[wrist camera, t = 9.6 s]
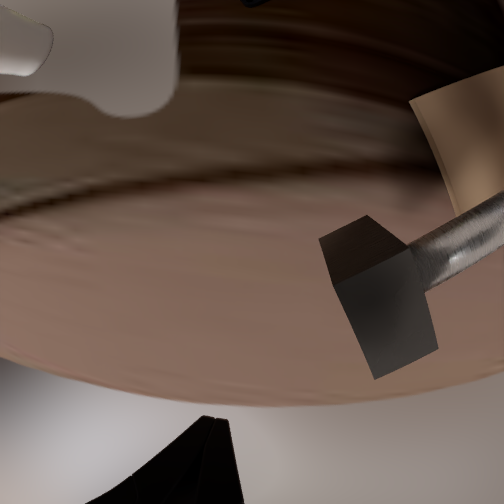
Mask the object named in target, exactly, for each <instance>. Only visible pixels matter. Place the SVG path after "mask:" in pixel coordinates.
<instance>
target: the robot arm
mask: <svg viewBox="0 0 504 504" xmlns="http://www.w3.org/2000/svg"><path fill="white" fill-rule="evenodd" d="M240 1H241V2H242V3H243V4H244V6H246V7H248V8H252V7H255V6H257V5H259V4H261V3H264V2H266V1H268V0H253V1H252V2H250V3H249V2H247V1H248V0H240ZM85 504H244V499H243V494H242V489H241V484H240V480H239V474H238V470H237V464H236V459H235V454H234V448H233V443H232V437H231V432H230V427H229V421H228V420H227V419H222V418H216V419H215V418H214V417H210V416H205V415H203V416H201V417H200V418H199V419H198V420H197V421H196V422H194V423H193V424H192V425H191V426H190V427H189V428H188V429H186V430H185V431H184V432H183V433H182V434H181V435H179V436H178V437H177V438H176V439H175V440H174V441H172V442H171V443H170V444H169V445H168V446H167V447H165V448H164V449H163V450H162V451H161V452H159V453H158V454H157V455H156V456H154V457H153V458H152V459H151V460H150V461H148V462H147V463H146V464H145V465H143V466H142V467H141V468H140V469H138V470H137V471H136V472H135V473H133V474H132V476H129V477H128V478H126V479H125V480H124V481H123V482H121V483H120V484H118V485H117V486H115V487H114V488H113V489H111V490H109V491H108V492H106V493H104V494H102V495H101V496H99V497H97V498H95V499H93V500H91V501H89V502H87V503H85Z"/></svg>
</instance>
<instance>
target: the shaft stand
mask: <svg viewBox="0 0 504 504" xmlns="http://www.w3.org/2000/svg"><path fill="white" fill-rule="evenodd" d="M409 103H410V105H411V107H412V109H413V111H414V113H415V115H416V117H417V119H418V121H419V123H420V125H421V127H422V129H423V131H424V134H425V136H426V138H427V140H428V142H429V145H430V147H431V149H432V152H433V154H434V156H435V159H436V161H437V164H438V166H439V169H440V171H441V174H442V177H443V179H444V182H445V185H446V187H447V190H448V193H449V196H450V199H451V202H452V205H453V208H454V211H455V214H456V217H458V216H460V215H461V214H463V213H465V212H467V211H468V210H470V209H472V208H473V207H475V206H477V205H479V204H480V203H482V202H484V201H485V200H487V199H489V198H490V197H492V196H494V195H495V194H497V193H499V192H500V191H502V190H503V189H504V66H501V67H498V68H495V69H492V70H489V71H486V72H483V73H480V74H478V75H475V76H472V77H469V78H466V79H464V80H461V81H458V82H455V83H453V84H450V85H448V86H445V87H442V88H440V89H437V90H435V91H432V92H430V93H427V94H425V95H422V96H420V97H417V98H415V99H413V100H411V101H409Z"/></svg>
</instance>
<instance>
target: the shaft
mask: <svg viewBox="0 0 504 504" xmlns="http://www.w3.org/2000/svg"><path fill="white" fill-rule="evenodd" d="M319 242H320V245H321V248H322V251H323V255H324V258H325V261H326V264H327V268H328V271H329V274H330V278H331V281H332V284H333V287H334V289H335V291H336V293H337V296H338V298H339V300H340V302H341V304H342V306H343V308H344V311H345V313H346V315H347V317H348V319H349V322H350V324H351V326H352V328H353V331H354V333H355V335H356V337H357V340H358V342H359V344H360V346H361V349H362V351H363V353H364V356H365V358H366V360H367V363H368V365H369V367H370V370H371V372H372V375H373V377H374V379H377V378H380V377H382V376H384V375H386V374H389V373H391V372H393V371H395V370H397V369H399V368H402V367H404V366H406V365H408V364H410V363H412V362H414V361H416V360H418V359H420V358H422V357H424V356H426V355H428V354H430V353H431V352H433V351H435V350H437V349H438V344H437V340H436V336H435V331H434V327H433V323H432V319H431V315H430V312H429V308H428V304H427V301H426V297H425V294H424V293H425V292H427V291H429V290H431V289H433V288H435V287H436V286H438V285H440V284H442V283H443V282H445V281H447V280H449V279H450V278H452V277H454V276H456V275H457V274H459V273H461V272H462V271H464V270H466V269H467V268H469V267H470V266H472V265H474V264H475V263H477V262H479V261H480V260H482V259H483V258H485V257H486V256H488V255H490V254H491V253H493V252H494V251H496V250H497V249H499V248H500V247H502V246H503V245H504V189H503V190H502V191H500V192H499V193H497V194H495V195H494V196H492V197H490V198H489V199H487V200H485V201H484V202H482V203H480V204H479V205H477V206H475V207H473V208H472V209H470V210H468V211H467V212H465V213H463V214H461V215H460V216H458V217H456V218H454V219H453V220H451V221H449V222H447V223H445V224H444V225H442V226H440V227H438V228H436V229H435V230H433V231H431V232H429V233H427V234H425V235H423V236H422V237H420V238H418V239H416V240H414V241H412V242H410V243H408V244H404V243H403V242H402V241H400V240H399V239H398V238H397V237H395V236H394V235H393V234H392V233H390V232H389V231H388V230H386V229H385V228H384V227H382V226H381V225H380V224H378V223H377V222H376V221H374V220H373V219H372V218H370V217H369V216H368V215H366V216H364V217H362V218H360V219H358V220H356V221H354V222H352V223H350V224H348V225H346V226H344V227H342V228H339V229H337V230H335V231H333V232H331V233H329V234H327V235H325V236H323V237H321V238H319Z"/></svg>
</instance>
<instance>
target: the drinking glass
mask: <svg viewBox="0 0 504 504" xmlns="http://www.w3.org/2000/svg"><path fill="white" fill-rule="evenodd" d="M52 44H53V33H52V30H51V29H50V28H49V27H48V26H46V25H44V24H41V23H38V22H36V21H34V20H32V19H30V18H28V17H26V16H23V15H21V14H19V13H17V12H15V11H13V10H11V9H9V8H7V7H5V6H2V5H0V74H12V75H18V76H28V75H31V74H33V73H34V72H35V71H37V70H38V69H39V68H40V67H41V66H42V65H43V63H44V62H45V60H46V59H47V57H48V55H49V53H50V51H51V48H52Z"/></svg>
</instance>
